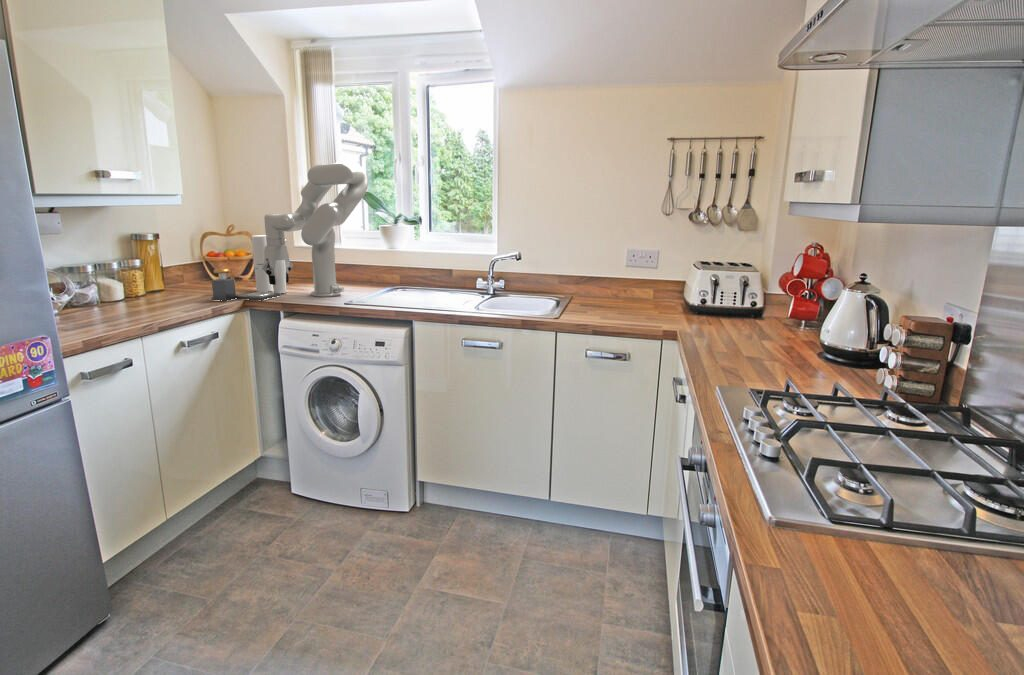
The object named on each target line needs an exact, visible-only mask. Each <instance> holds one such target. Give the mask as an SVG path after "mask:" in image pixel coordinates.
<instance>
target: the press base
mask: <svg viewBox="0 0 1024 675" xmlns="http://www.w3.org/2000/svg"><path fill="white" fill-rule="evenodd" d="M235 283H236V282H235V278H227V280H219V278H217V279H213V280H212V279H211V286H212V287H211V289H212V297H211V301H212V300H220V301H219V302H221V300H222V301H227V300H231V299H235V298H237V299H249V300H248V301H250V300H261V301H260V302H263V301H262V300H264V299H267V298H272V297H277V296H280V297H281V294H280V293H274V292H257V291H253V292H249V293H244V294H240V295H237V294H236V293H237V292H236V284H235ZM277 298H278V297H277ZM237 299H236V300H237Z"/></svg>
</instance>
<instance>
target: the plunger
mask: <svg viewBox="0 0 1024 675" xmlns="http://www.w3.org/2000/svg"><path fill="white" fill-rule="evenodd" d="M229 273H231V269H230V268H216V269H213V274H218V279H219V280H227V279H228V277H227V274H229Z"/></svg>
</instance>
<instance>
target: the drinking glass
mask: <svg viewBox="0 0 1024 675" xmlns="http://www.w3.org/2000/svg"><path fill="white" fill-rule="evenodd" d="M270 272H271V270H270ZM274 276H275V285H273V293H280V295H282V294H281V293H284V294H287V283H286V264H285V260H278V261H276V265H275V269H274Z"/></svg>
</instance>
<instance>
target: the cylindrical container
mask: <svg viewBox="0 0 1024 675" xmlns="http://www.w3.org/2000/svg"><path fill="white" fill-rule="evenodd" d="M250 238H251V246H252V256H253V265H254V266H253V267H254V276H255V287H256V292H257V291H258V292H268V291H273V285H272V284H270V282H269V275H267V273H266V272H265V271H264V270H263V269H262V266H263V265H264V250H265V246H267V243H266V234H260V235H259V234H258V235H251V236H250ZM273 292H274V291H273Z"/></svg>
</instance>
